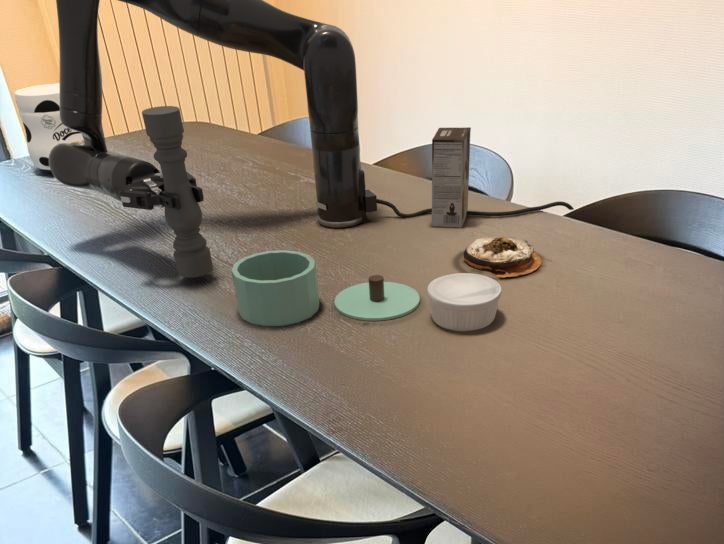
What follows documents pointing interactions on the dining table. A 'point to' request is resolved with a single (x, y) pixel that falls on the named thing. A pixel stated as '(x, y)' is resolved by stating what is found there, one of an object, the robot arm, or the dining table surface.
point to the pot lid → (377, 300)
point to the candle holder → (178, 191)
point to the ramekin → (464, 301)
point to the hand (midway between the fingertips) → (189, 199)
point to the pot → (276, 287)
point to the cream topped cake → (502, 256)
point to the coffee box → (450, 176)
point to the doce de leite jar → (43, 122)
